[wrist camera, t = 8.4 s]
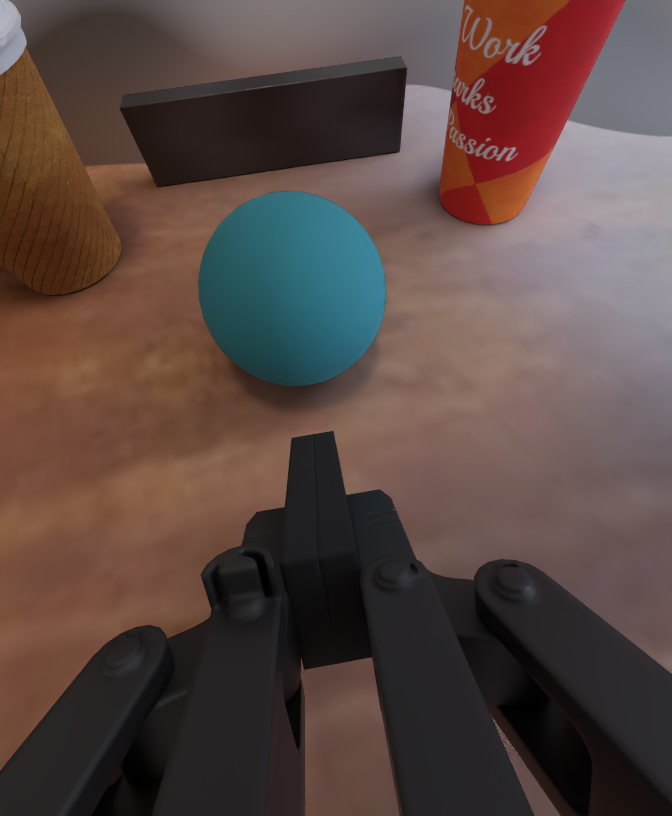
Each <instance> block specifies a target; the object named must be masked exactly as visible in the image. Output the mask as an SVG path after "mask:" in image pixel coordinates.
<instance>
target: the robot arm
mask: <svg viewBox="0 0 672 816" xmlns="http://www.w3.org/2000/svg"><path fill="white" fill-rule="evenodd" d="M201 577H202V581H203V584H204V587H205V590H206V593H207V596H208V600H209V603H210V606H211V609H212V611H211V615H210V617H209V618H208V619H207V620H205V621H204V622H202V623H200V624H198V625H197V626H195V627H193V628H191V629H188V630H186V631H184V632H182V633H179V634H177V635H175V636H172V637H170V638H168V639H167V637H166V634H165V633H164V632H163V631H162V630H161V628H159V627H155V626H151V625H146V626H140V627H135V628H133V629H130V630H128V631H125V632H123V633H121V634H119V635H118V636H116V637H115V638H113V639H112V640H110V641H109V642H107V643H106V644H105V645H104V646H103V647H102V648H101V649H100V650H99V651H98V652H97V653H96V654H95V655H94V656H93V657H92V658H91V659H90V661H89V662H88V663H87V664H86V666H85V667H84V668H83V669H82V671H81V672H80V673H79V674H78V675H77V677H76V678H75V679H74V680H73V682H72V683H71V684H70V685H69V687H68V688H67V689H66V690H65V691H64V693H63V694H62V695H61V696H60V698H59V699H58V700H57V701H56V703H55V704H54V705H53V706H52V708H51V709H50V710H49V711H48V712H47V714H46V715H45V716H44V717H43V719H42V720H41V721H40V722H39V724H38V725H37V726H36V727H35V728H34V730H33V731H32V732H31V733H30V735H29V736H28V737H27V738H26V740H25V741H24V742H23V743H22V744H21V746H20V747H19V748H18V749H17V751H16V752H15V753H14V754H13V756H12V757H11V758H10V759H9V761H8V762H7V763H6V764H5V765H4V767H3V768H2V769H1V770H0V816H305V695H304V690H303V685H302V681H301V658H302V662H303V667H304V670H306V669H311V668H316V667H322V666H327V665H333V664H338V663H343V662H349V661H354V660H359V659H365V658H370V657H372V659H373V664H374V671H375V677H376V683H377V689H378V695H379V702H380V708H381V711H382V717H383V722H384V728H385V734H386V739H387V745H388V751H389V756H390V762H391V768H392V773H393V779H394V784H395V790H396V796H397V801H398V807H399V813H400V816H534V814H533V812H532V810H531V807H530V805H529V803H528V800H527V798H526V796H525V793H524V791H523V789H522V786H521V784H520V782H519V780H518V777H517V775H516V773H515V770H514V768H513V766H512V763H511V761H510V759H509V756H508V754H507V752H506V750H505V747H504V745H503V743H502V740H501V738H500V736H499V733H498V731H497V729H496V726H495V724H494V722H493V720H492V717H493V718H494V719H495V721H496V722H497V724H498V725H499V727H500V728H501V730H502V731H503V733H504V734H505V735H506V737H507V738H508V740H509V741H510V743H511V744H512V746H513V747H514V748H515V750H516V751H517V753H518V754H519V756H520V757H521V759H522V760H523V761H524V763H525V764H526V766H527V767H528V769H529V770H530V772H531V773H532V775H533V776H534V777H535V779H536V780H537V782H538V783H539V785H540V786H541V788H542V789H543V790H544V792H545V793H546V795H547V796H548V798H549V799H550V801H551V802H552V804H553V805H554V806H555V808H556V809H557V811H558V812H559V814H560V815H561V816H672V674H671V673H670V672H669V671H667V670H666V669H665V668H664V667H662V666H661V665H660V664H658V663H657V662H656V661H655V660H653V659H652V658H651V657H650V656H648V655H647V654H646V653H645V652H643V651H642V650H641V649H640V648H638V647H637V646H636V645H635V644H633V643H632V642H631V641H630V640H628V639H627V638H626V637H625V636H623V635H622V634H621V633H619V632H618V631H617V630H616V629H614V628H613V627H612V626H611V625H609V624H608V623H607V622H606V621H604V620H603V619H602V618H601V617H599V616H598V615H597V614H596V613H594V612H593V611H592V610H591V609H589V608H588V607H587V606H585V605H584V604H583V603H582V602H580V601H579V600H578V599H577V598H575V597H574V596H573V595H572V594H570V593H569V592H568V591H567V590H565V589H564V588H563V587H562V586H560V585H559V584H558V583H557V582H555V581H554V580H553V579H552V578H550V577H549V576H548V575H546V574H545V573H544V572H542V571H541V570H539V569H537V568H536V567H534V566H532V565H530V564H527V563H524V562H520V561H517V560H505V559H500V560H495V561H491V562H488V563H486V564H484V565H483V566H481V567H480V568H479V569H478V571H477V572H476V574H475V576H474V580H469V579H456V578H449V577H443V576H440V575H437V574H434V573H432V572H430V571H429V570H427V569H426V567H425V566H424V565H423V563H422V562H420V561H419V560H417V559H416V557H415V555H414V553H413V550H412V548H411V545H410V543H409V540H408V538H407V536H406V533H405V531H404V528H403V526H402V523H401V521H400V520H399V516H398V514H397V511H396V509H395V507H394V504H393V502H392V499H391V497H389V496H388V495H387V494H385V493H384V492H383V491H381V490H380V489H379V490H373V491H368V492H362V493H356V494H350V495H346V493H345V488H344V483H343V478H342V473H341V468H340V462H339V457H338V452H337V447H336V442H335V437H334V432H333V431H330V432H324V433H318V434H312V435H306V436H300V437H295V438H292V440H291V450H290V460H289V470H288V481H287V491H286V501H285V507H283V508H277V509H272V510H266V511H260V512H256V514H255V515H254V516H253V517H252V518H251V520H250V521H249V522H248V523H247V525H246V529H245V533H244V539H243V541H242V545H241V546H239V547H235V548H232V549H229V550H227V551H225V552H223V553H221V554H219V555H218V556H216V557H215V558H214V559H213V560H212V561H211V562H209V563H208V564H207V565H206V567H205V568H204V570H203V572H202V573H201ZM489 712H490V713H489ZM490 714H491V715H492V717H491V715H490Z"/></svg>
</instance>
